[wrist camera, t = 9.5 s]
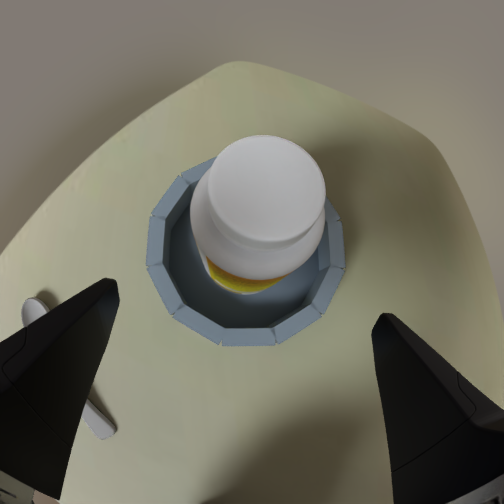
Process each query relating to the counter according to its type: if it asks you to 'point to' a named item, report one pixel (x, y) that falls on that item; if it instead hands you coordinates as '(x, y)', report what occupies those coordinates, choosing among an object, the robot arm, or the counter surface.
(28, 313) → the spoon
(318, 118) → the counter surface
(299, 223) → the supplement bottle
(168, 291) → the bowl
